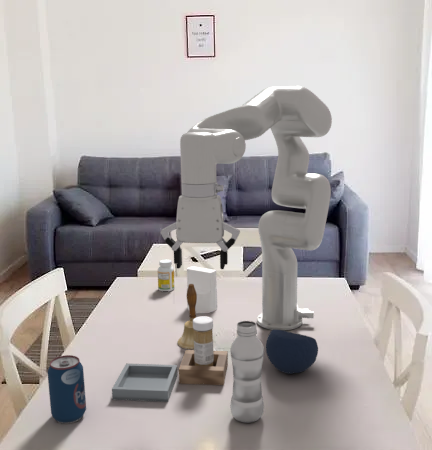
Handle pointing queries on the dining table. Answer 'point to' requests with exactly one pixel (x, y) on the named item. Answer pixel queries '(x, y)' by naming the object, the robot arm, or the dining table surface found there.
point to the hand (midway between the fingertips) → (200, 267)
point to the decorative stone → (291, 351)
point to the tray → (145, 382)
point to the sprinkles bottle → (203, 341)
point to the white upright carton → (203, 288)
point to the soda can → (66, 389)
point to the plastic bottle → (247, 373)
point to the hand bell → (188, 333)
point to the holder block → (203, 369)
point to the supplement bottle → (165, 275)
